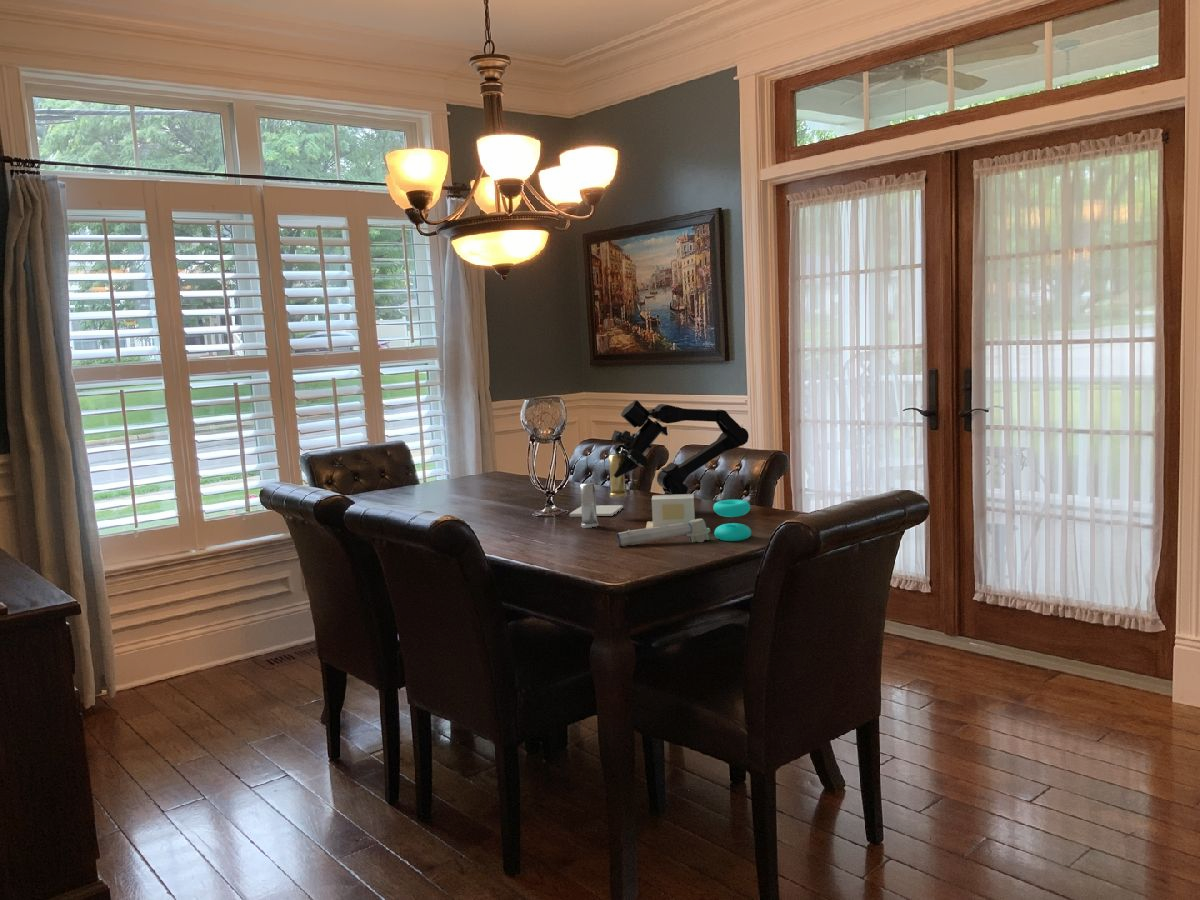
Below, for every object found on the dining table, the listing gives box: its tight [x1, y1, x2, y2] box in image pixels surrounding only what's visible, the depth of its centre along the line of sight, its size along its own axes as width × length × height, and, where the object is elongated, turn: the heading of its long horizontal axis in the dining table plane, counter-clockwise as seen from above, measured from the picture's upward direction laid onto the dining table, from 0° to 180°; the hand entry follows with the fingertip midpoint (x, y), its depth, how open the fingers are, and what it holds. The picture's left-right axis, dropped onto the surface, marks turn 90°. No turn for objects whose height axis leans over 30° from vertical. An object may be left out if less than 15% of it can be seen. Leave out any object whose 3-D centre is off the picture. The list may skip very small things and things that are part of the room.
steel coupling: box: [579, 482, 599, 529], centre depth 285 cm, size 5×5×13 cm
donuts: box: [712, 499, 752, 542], centre depth 260 cm, size 10×10×10 cm
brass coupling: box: [608, 453, 628, 499], centre depth 295 cm, size 5×5×13 cm
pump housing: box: [645, 493, 696, 528], centre depth 278 cm, size 12×16×9 cm
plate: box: [568, 504, 624, 518], centre depth 308 cm, size 14×14×1 cm
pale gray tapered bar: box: [616, 518, 711, 547], centre depth 258 cm, size 5×7×25 cm
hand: (612, 475), depth 294 cm, fingers closed on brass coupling, 4 cm apart
